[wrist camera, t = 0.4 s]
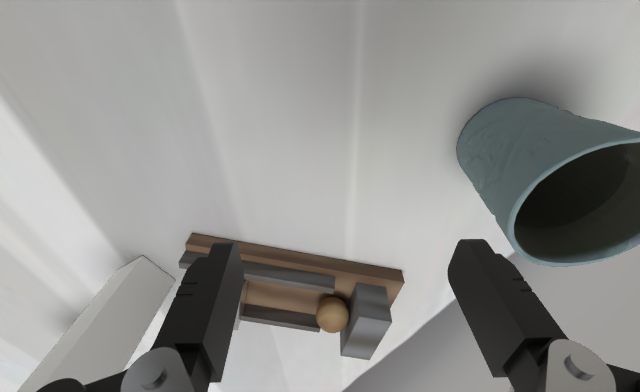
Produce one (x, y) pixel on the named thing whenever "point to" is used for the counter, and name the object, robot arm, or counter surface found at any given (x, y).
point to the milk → (106, 328)
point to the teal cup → (555, 180)
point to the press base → (312, 292)
